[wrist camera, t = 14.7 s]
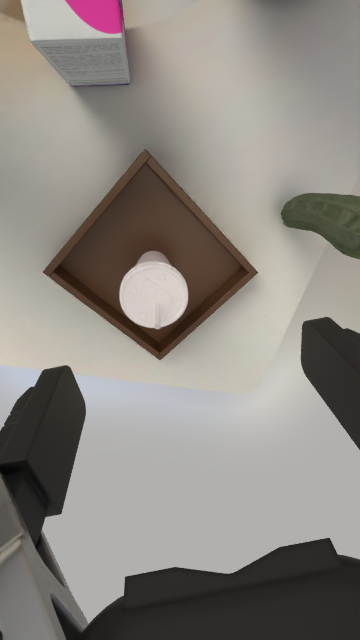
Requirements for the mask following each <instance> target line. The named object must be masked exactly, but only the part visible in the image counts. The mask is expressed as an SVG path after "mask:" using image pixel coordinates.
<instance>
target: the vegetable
mask: <svg viewBox="0 0 360 640" xmlns="http://www.w3.org/2000/svg"><path fill="white" fill-rule="evenodd" d="M281 215H282V219H283V221H284V223H283V224H284V225H286V226H287V227H291V228H297V229H302V230H310V231H313V232H315V233H318V234H320V235H321V236H323V237H324V238H325V239H326V240H327V241H329V242H330V243H331V244H332V245H333V246H334V247H335V248H336V249H337V250H339V251H340V252H342V253H343V254H345V255H347V256H350V257H353V258H357V259H360V197H359V196H353V195H340V194H322V193H307V194H302V195H299V196H296V197H294V198H293V199H291V200H290V201H288V202H287V203H286V204H285V205H284V207H283V209H282V211H281Z"/></svg>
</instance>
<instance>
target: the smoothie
mask: <svg viewBox="0 0 360 640" xmlns="http://www.w3.org/2000/svg"><path fill="white" fill-rule="evenodd" d="M119 297H120V304H121V307H122V309H123V311H124V313H125V314H126V315H127V317H128V318H129V319H131V320H132V321H133V322H135V323H136V324H138V325H141V326H144V327H149V328H155V329H160V328H161V327H164V326H167V325H169V324H172V323H173V322H175V321H176V320H177V319H178V318H179V317H180V316H181V315H182V314H183V312H184V311H185V309H186V306H187V303H188V288H187V285H186V281H185V279H184V278H183V276H182V275H181V273H180V272H179V271H177V270H176V269H175V268H174V267H172V265H171V264H170V262H169V261H168V259H167V258H166V256H165V255H164V254H162V253H161V252H158V251H149V252H146V253H144V254H143V255H142V256H141V257H140V259H139V261H138V262H137V264H136V265H135V267H134V268H132V269H130V271H129V272H128V273H127V274H126V275H125V276H124V278H123V280H122V282H121V286H120V296H119Z"/></svg>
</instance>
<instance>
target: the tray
mask: <svg viewBox="0 0 360 640" xmlns="http://www.w3.org/2000/svg"><path fill="white" fill-rule="evenodd" d="M149 251H158V252H161V253H162V254H164V255H165V256H166V258H167V259H168V261H169V262H170V264H171V265H172V267H174V268H175V269H176V270H177V271H179V272H180V273H181V275H182V276H183V278H184V279H185V281H186V285H187V288H188V303H187V306H186V309H185V311H184V312H183V314H182V315H181V316H180V317H179V318H178V319H177V320H176V321H175V322H173V323H172V324H169V325H167V326H164V327H161V328H160V329H155V328H149V327H144V326H141V325H138V324H136V323H135V322H133V321H132V320H131V319H129V318H128V317H127V315H126V314H125V313H124V311H123V309H122V307H121V304H120V297H119V296H120V286H121V282H122V280H123V278H124V276H125V275H126V274H127V273H128V272H129V271H130V269H132V268H134V267H135V265H136V264H137V262H138V261H139V259H140V257H141V256H142V255H143V254H144V253H146V252H149ZM43 273H44V274H46V275H47V276H49V277H50V278H51V279H52V280H54V281H55V282H56V283H58V284H59V285H60V286H62V287H63V288H64V289H66V290H67V291H68V292H70V293H71V294H72V295H74V296H75V297H76V298H78V299H79V300H80V301H82V302H83V303H84V304H86V305H87V306H88V307H90V308H91V309H92V310H94V311H95V312H96V313H98V314H99V315H100V316H102V317H103V318H104V319H106V320H107V321H108V322H110V323H111V324H112V325H114V326H115V327H116V328H118V329H119V330H120V331H122V332H123V333H124V334H126V335H127V336H128V337H130V338H131V339H132V340H134V341H135V342H136V343H138V344H139V345H140V346H142V347H143V348H144V349H146V350H147V351H148V352H150V353H151V354H152V355H154V356H155V357H156V358H158V359H159V360H161V359H162V358H163V357H164V356H166V355H167V354H168V353H169V352H170V351H171V350H172V349H173V348H175V347H176V346H177V345H178V344H179V343H180V342H181V341H182V340H183V339H185V338H186V337H187V336H188V335H189V334H190V333H191V332H192V331H194V330H195V329H196V328H197V327H198V326H199V325H200V324H201V323H202V322H204V321H205V320H206V319H207V318H208V317H209V316H210V315H211V314H213V313H214V312H215V311H216V310H217V309H218V308H219V307H220V306H222V305H223V304H224V303H225V302H226V301H227V300H228V299H229V298H230V297H232V296H233V295H234V294H235V293H236V292H237V291H238V290H239V289H241V288H242V287H243V286H244V285H245V284H246V283H247V282H248V281H249V280H251V279H252V278H253V277H254V276H255V275H256V274H257V273H258V272H257V271H256V270H255V269H254V268H253V266H252V265H251V264H250V263H249V262H248V261H247V260H246V259H245V258H244V257H243V255H242V254H241V253H240V252H239V251H238V250H237V249H236V248H235V247H234V246H233V244H232V243H231V242H230V241H229V240H228V239H227V238H226V237H225V236H224V235H223V234H222V232H221V231H220V230H219V229H218V228H217V227H216V226H215V225H214V224H213V223H212V221H211V220H210V219H209V218H208V217H207V216H206V215H205V214H204V213H203V212H202V211H201V209H200V208H199V207H198V206H197V205H196V204H195V203H194V202H193V201H192V200H191V198H190V197H189V196H188V195H187V194H186V193H185V192H184V191H183V190H182V189H181V187H180V186H179V185H178V184H177V183H176V182H175V181H174V180H173V179H172V178H171V177H170V175H169V174H168V173H167V172H166V171H165V170H164V169H163V168H162V167H161V166H160V164H159V163H158V162H157V161H156V160H155V159H154V158H153V157H152V156H151V155H150V154H149V152H148V151H147V150H146V149H145V150H144V151H143V152H142V153H141V154H140V156H139V157H138V158H137V159H136V160H135V162H134V163H133V164H132V165H131V166H130V168H129V169H128V170H127V171H126V172H125V174H124V175H123V176H122V177H121V178H120V180H119V181H118V182H117V183H116V184H115V186H114V187H113V188H112V189H111V190H110V192H109V193H108V194H107V195H106V196H105V198H104V199H103V200H102V201H101V202H100V204H99V205H98V206H97V207H96V208H95V210H94V211H93V212H92V213H91V214H90V216H89V217H88V218H87V219H86V220H85V222H84V223H83V224H82V225H81V226H80V228H79V229H78V230H77V231H76V233H75V234H74V235H73V236H72V237H71V239H70V240H69V241H68V242H67V243H66V245H65V246H64V247H63V248H62V249H61V251H60V252H59V253H58V254H57V255H56V257H55V258H54V259H53V260H52V261H51V263H50V264H49V265H48V266H47V267H46V269H45V270H44V271H43Z"/></svg>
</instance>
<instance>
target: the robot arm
mask: <svg viewBox="0 0 360 640" xmlns="http://www.w3.org/2000/svg"><path fill="white" fill-rule="evenodd" d="M301 364H302V368H303V371H304V373H305V375H306V377H307V378H308V379H309V381H310V382H311V384H312V385H313V386H314V387H315V389H316V390H317V392H318V393H319V395H320V396H321V397H322V398H323V400H324V401H325V403H326V404H327V406H328V407H329V408H330V410H331V411H332V412H333V414H334V415H335V416H336V418H337V419H338V421H339V422H340V423H341V425H342V426H343V428H344V429H345V430H346V432H347V433H348V434H349V436H350V437H351V439H352V440H353V441H354V443H355V444H356V445H357V447H358V448H359V449H360V334H359V333H357V332H355V331H352V330H350V329H348V328H347V329H342V328H341V327H340V326H339V325H338V324H336V323H335V322H334V321H333V320H332V319H331V318H329V317H324V318H319V319H314V320H308V321H305V322H304V323H303V325H302V343H301ZM10 414H11V415H9V416H8V418H7V420H6V422H5V423H4V425H5V426H4V427H2V429H1V431H0V640H360V560H359V559H356V558H352V557H348V556H344V555H338V554H337V552H336V550H335V548H334V546H333V544H332V542H331V540H330V538H326V539H320V540H315V541H310V542H305V543H299V544H294V545H289V546H284V547H279V548H277V549H276V550H274V551H272V552H270V553H268V554H267V555H265V556H263V557H261V558H260V559H258V560H256V561H254V562H252V563H251V564H249V565H247V566H245V567H243V568H242V569H240V570H238V571H236V572H234V573H231V574H223V573H215V572H208V571H201V570H192V569H184V568H178V567H174V568H168V569H163V570H158V571H153V572H147V573H142V574H138V575H133V576H127V577H125V589H124V596H122V597H120V598H118V599H117V600H116V601H114V602H113V603H112V604H110V605H109V606H107V607H106V608H105V609H104V610H103V611H102V612H101V613H99V615H97V616H96V617H95V618H94V619H93V620H92V621H91V622H90V623H88V622H87V620H86V618H85V616H84V614H83V612H82V611H81V609H80V607H79V606H78V604H77V602H76V601H75V599H74V597H73V595H72V593H71V591H70V589H69V587H68V585H67V582H66V580H65V578H64V576H63V574H62V572H61V570H60V567H59V565H58V563H57V561H56V559H55V556H54V554H53V552H52V550H51V548H50V545H49V543H48V541H47V539H46V537H45V535H44V533H43V532H42V527H43V523H44V520H45V517H48V516H53V515H59V514H61V513H62V509H63V505H64V501H65V497H66V493H67V488H68V485H69V480H70V477H71V473H72V469H73V465H74V461H75V456H76V452H77V448H78V444H79V440H80V436H81V432H82V428H83V424H84V420H85V415H86V408H85V401H84V398H83V396H82V394H81V391H80V389H79V387H78V384H77V382H76V380H75V377H74V375H73V372H72V370H71V368H70V367H69V366H67V365H66V366H60V367H55V368H50V369H45V370H43V371H42V373H41V375H40V377H39V379H38V381H37V383H36V385H35V387H30V388H29V389H28V390H27V391H26V392H25V393H24V394H23V395H22V396H21V397H20V398H19V399H18V400H17V402H16V403H15V405H14V407H13V409H12V411H11V412H10Z"/></svg>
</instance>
